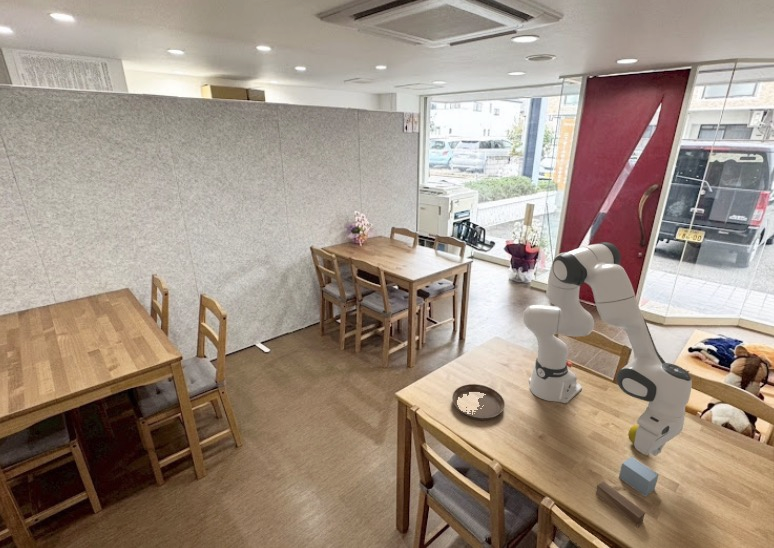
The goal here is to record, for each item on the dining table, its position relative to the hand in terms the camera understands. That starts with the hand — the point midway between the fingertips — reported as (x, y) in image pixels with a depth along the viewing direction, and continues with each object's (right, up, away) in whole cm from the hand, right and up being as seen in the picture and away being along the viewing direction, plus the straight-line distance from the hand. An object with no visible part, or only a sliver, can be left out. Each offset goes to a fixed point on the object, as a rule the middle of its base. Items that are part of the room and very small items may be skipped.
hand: (655, 453), depth 117 cm
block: (-6, -10, 0) cm, 11 cm away
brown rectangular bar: (-16, -12, -7) cm, 22 cm away
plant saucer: (-47, +2, +36) cm, 59 cm away
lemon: (+4, -4, +15) cm, 16 cm away
